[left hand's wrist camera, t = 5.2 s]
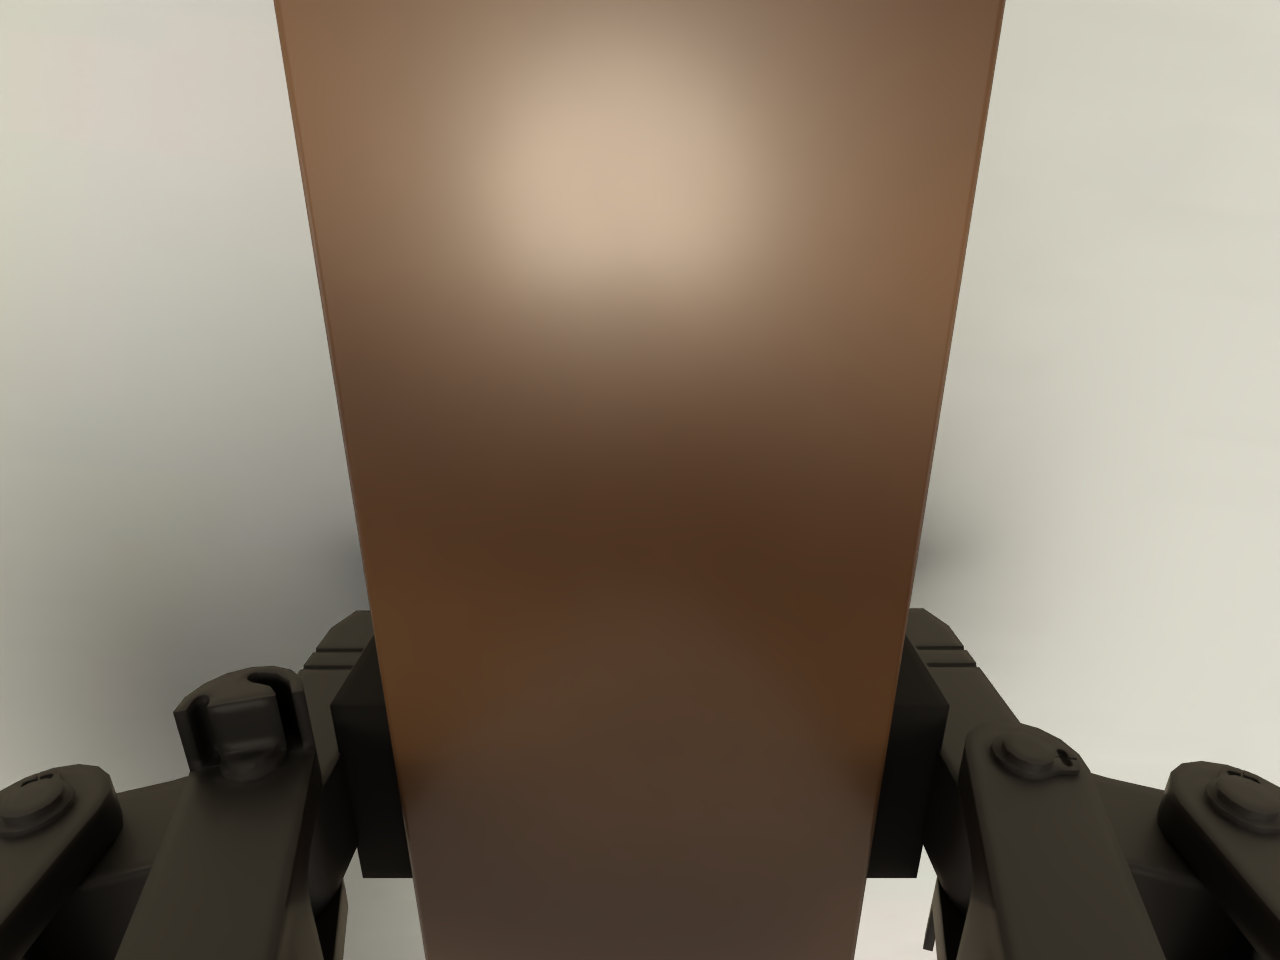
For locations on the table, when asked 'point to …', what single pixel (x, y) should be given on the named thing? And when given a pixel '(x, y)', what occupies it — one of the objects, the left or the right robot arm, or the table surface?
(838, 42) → the beam
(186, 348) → the table surface
